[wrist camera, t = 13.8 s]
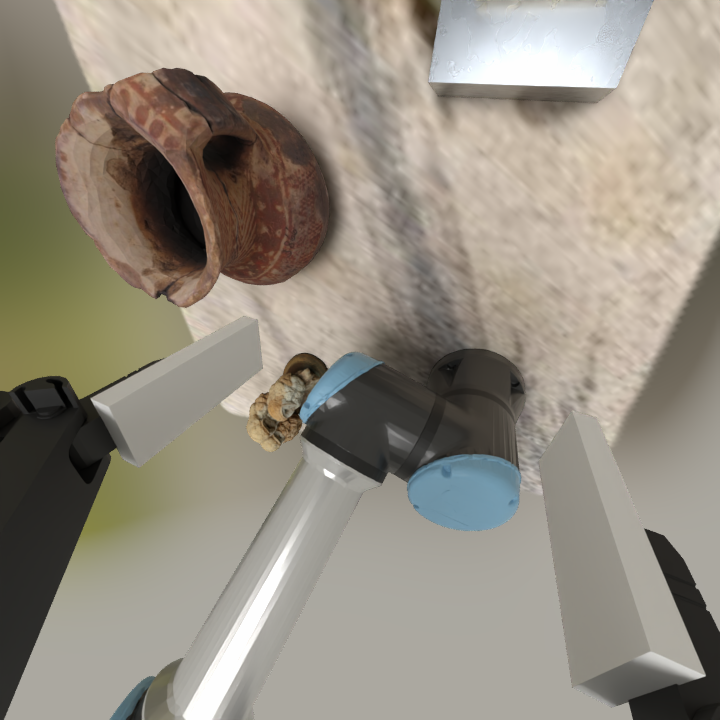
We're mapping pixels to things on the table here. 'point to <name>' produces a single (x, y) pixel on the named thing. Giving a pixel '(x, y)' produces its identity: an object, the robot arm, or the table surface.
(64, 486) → the robot arm
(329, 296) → the table surface
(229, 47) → the table surface
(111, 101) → the jug
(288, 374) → the owl figurine
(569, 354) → the table surface
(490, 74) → the grey fixture block
